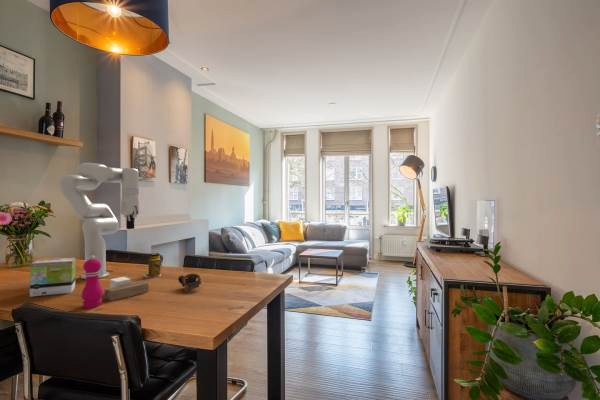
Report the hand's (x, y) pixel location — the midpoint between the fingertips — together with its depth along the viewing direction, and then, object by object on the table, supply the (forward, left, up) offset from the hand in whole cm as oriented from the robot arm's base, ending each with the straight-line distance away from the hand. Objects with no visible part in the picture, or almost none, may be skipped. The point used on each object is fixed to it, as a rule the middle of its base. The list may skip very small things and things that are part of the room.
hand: (130, 228), depth 160 cm
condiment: (-4, +14, -27) cm, 31 cm away
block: (+13, -11, -27) cm, 32 cm away
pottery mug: (+34, +11, -27) cm, 45 cm away
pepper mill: (+23, -26, -27) cm, 44 cm away
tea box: (-10, -29, -27) cm, 41 cm away
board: (+20, -11, -27) cm, 35 cm away
